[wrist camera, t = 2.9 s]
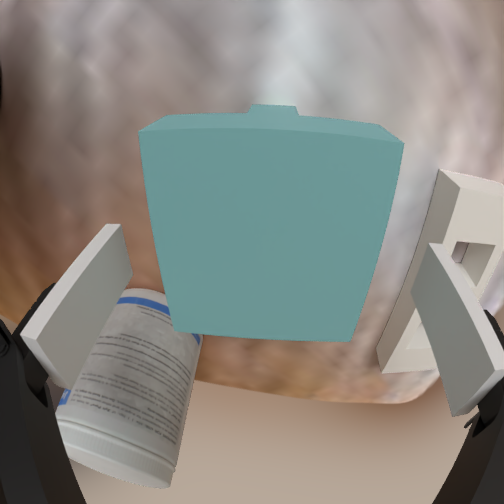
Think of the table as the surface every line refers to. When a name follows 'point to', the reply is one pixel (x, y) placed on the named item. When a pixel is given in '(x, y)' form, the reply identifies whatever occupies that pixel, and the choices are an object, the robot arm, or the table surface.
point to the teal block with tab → (268, 219)
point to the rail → (448, 233)
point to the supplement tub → (132, 393)
